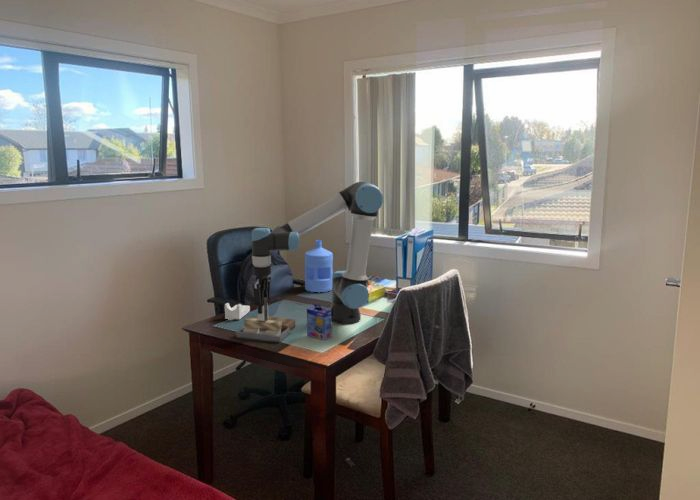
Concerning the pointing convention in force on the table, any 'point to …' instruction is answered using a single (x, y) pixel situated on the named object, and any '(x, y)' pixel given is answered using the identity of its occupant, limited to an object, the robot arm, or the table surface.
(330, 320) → the ink cartridge box
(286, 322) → the walnut board
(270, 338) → the box
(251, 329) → the tile
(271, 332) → the tile
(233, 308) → the bracket
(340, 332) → the table surface
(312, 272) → the water jug
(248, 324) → the inverted t-shaped stand
